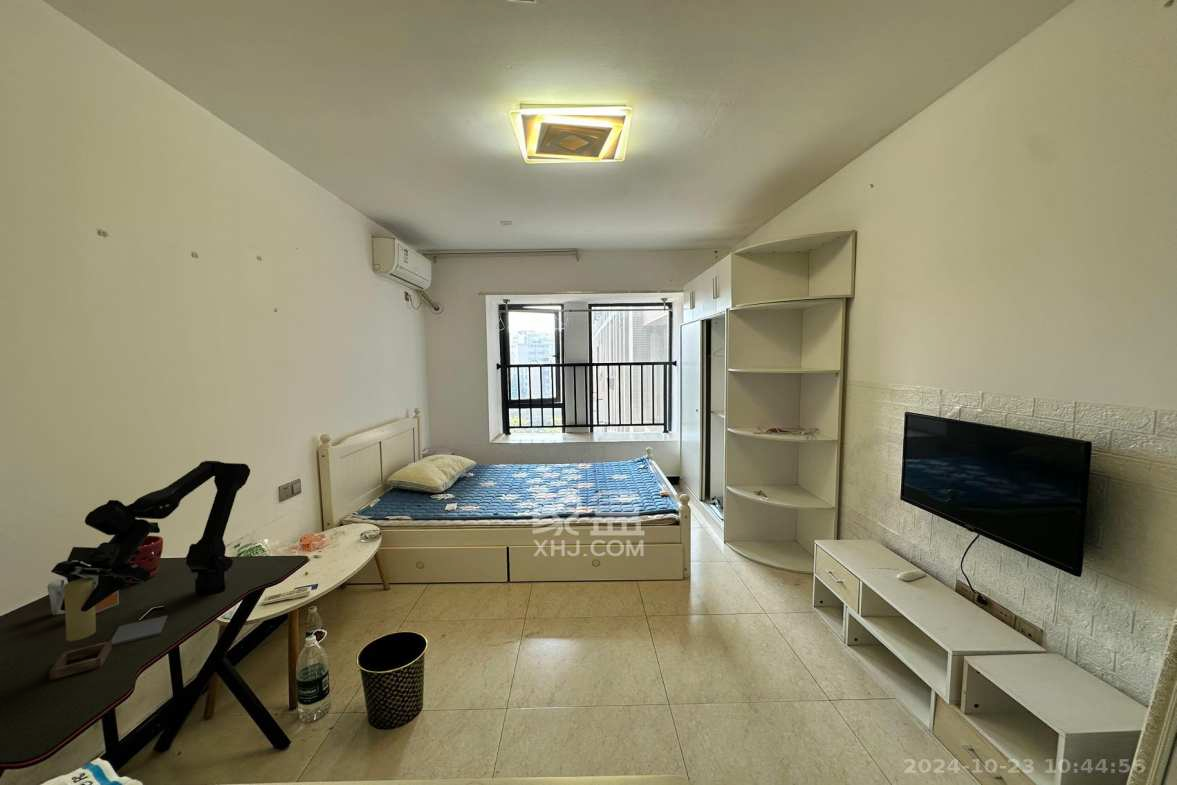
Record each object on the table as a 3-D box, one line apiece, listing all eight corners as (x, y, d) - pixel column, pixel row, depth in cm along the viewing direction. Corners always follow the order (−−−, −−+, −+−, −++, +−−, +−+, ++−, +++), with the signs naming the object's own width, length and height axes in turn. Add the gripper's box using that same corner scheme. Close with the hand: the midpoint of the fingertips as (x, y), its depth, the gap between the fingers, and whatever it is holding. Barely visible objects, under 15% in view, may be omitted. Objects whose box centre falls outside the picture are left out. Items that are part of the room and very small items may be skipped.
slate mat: (167, 617, 117) (167, 615, 117) (159, 634, 110) (159, 632, 110) (119, 628, 112) (119, 626, 112) (108, 646, 104) (108, 644, 104)
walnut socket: (111, 648, 104) (111, 640, 104) (101, 666, 98) (100, 658, 98) (64, 660, 99) (63, 652, 99) (49, 680, 93) (49, 671, 93)
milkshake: (50, 619, 114) (49, 583, 114) (47, 613, 117) (45, 577, 117) (76, 611, 118) (75, 576, 118) (72, 605, 121) (71, 571, 121)
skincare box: (92, 615, 117) (90, 573, 116) (80, 613, 118) (79, 571, 117) (120, 604, 123) (119, 563, 122) (109, 602, 123) (107, 561, 123)
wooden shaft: (98, 626, 101) (97, 575, 101) (92, 636, 98) (90, 583, 97) (70, 633, 99) (68, 580, 98) (62, 643, 95) (60, 589, 94)
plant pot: (133, 589, 131) (132, 551, 130) (91, 587, 131) (89, 549, 130) (175, 569, 144) (174, 534, 143) (136, 568, 144) (135, 533, 143)
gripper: (59, 528, 101) (-4, 598, 91) (136, 531, 101) (81, 601, 90) (99, 546, 109) (45, 612, 99) (170, 549, 109) (124, 616, 99)
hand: (72, 610), depth 96 cm, fingers closed on wooden shaft, 4 cm apart
